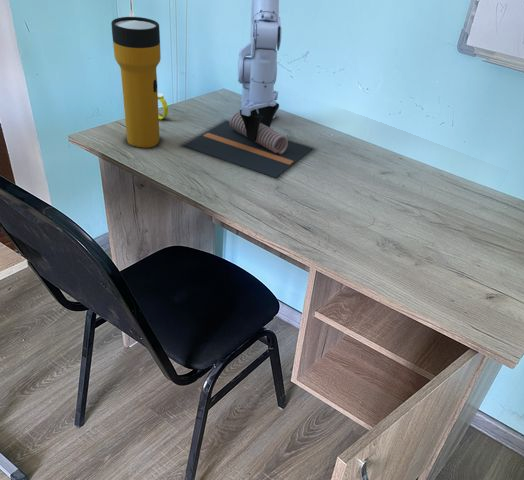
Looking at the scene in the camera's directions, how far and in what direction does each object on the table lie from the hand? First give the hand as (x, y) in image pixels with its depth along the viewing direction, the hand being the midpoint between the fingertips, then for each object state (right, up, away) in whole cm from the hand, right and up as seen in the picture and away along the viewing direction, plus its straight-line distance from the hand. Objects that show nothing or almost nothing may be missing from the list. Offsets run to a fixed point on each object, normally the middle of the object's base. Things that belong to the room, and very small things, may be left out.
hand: (257, 136), depth 135 cm
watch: (-26, +8, +7) cm, 28 cm away
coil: (0, -1, +1) cm, 2 cm away
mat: (-2, -3, -2) cm, 4 cm away
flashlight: (-28, -3, -4) cm, 28 cm away
